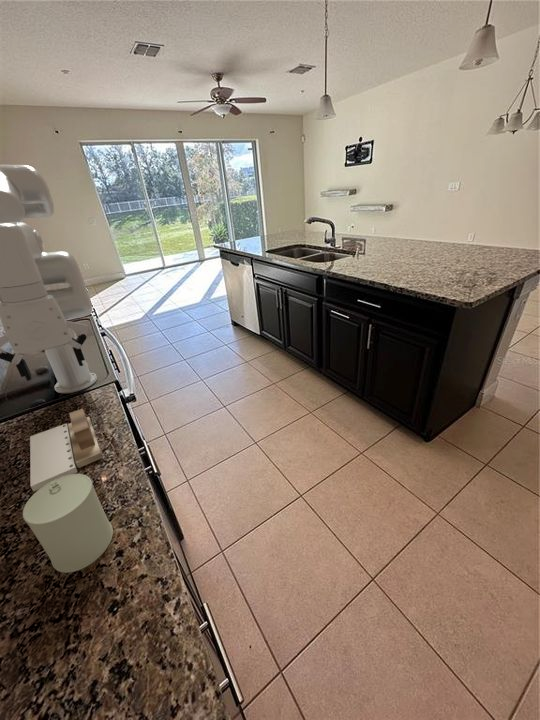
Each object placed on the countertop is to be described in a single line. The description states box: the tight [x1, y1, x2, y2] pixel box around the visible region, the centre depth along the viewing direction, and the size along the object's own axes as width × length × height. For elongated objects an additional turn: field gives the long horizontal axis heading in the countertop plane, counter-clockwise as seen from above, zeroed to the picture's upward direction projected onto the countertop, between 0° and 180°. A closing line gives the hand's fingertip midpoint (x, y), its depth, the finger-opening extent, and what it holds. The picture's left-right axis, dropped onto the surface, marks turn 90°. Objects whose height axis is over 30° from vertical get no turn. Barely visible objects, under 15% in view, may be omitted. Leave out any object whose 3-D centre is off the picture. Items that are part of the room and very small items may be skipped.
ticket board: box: [29, 423, 78, 493], centre depth 71 cm, size 20×8×2 cm, turn 37°
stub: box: [67, 408, 103, 469], centre depth 73 cm, size 18×5×6 cm, turn 37°
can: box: [22, 473, 114, 574], centre depth 49 cm, size 9×9×12 cm
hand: (56, 370), depth 66 cm, fingers open, 9 cm apart
